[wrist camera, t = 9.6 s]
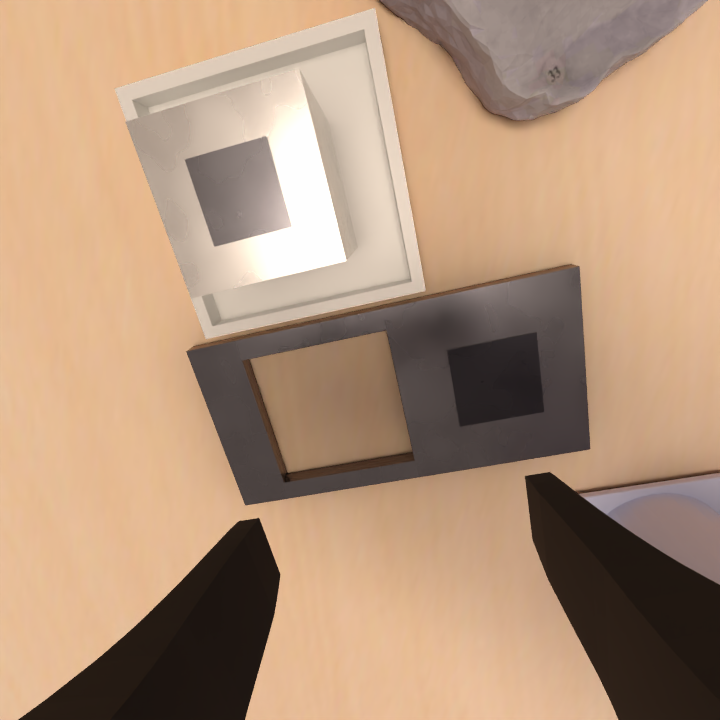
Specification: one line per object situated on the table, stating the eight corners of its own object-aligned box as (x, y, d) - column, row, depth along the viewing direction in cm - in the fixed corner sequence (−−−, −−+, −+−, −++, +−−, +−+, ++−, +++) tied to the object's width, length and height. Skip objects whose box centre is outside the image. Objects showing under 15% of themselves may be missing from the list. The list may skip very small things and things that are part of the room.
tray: (422, 285, 18) (426, 291, 17) (218, 330, 20) (205, 339, 18) (375, 27, 15) (375, 8, 14) (137, 99, 17) (114, 88, 15)
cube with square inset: (357, 247, 18) (345, 261, 12) (250, 274, 18) (189, 299, 13) (328, 121, 16) (298, 66, 10) (212, 154, 17) (123, 121, 11)
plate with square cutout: (582, 440, 21) (591, 449, 20) (249, 495, 23) (245, 506, 22) (571, 264, 18) (580, 266, 17) (193, 346, 20) (185, 351, 19)
